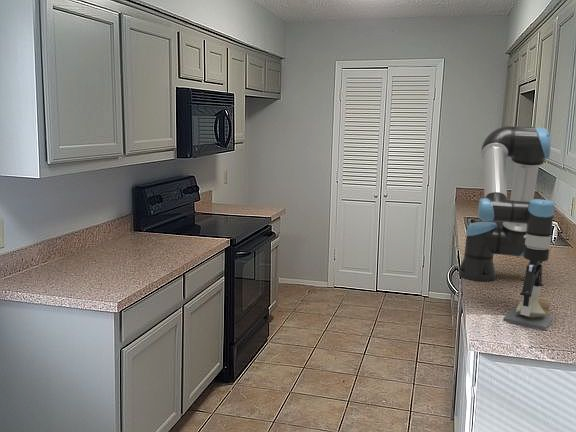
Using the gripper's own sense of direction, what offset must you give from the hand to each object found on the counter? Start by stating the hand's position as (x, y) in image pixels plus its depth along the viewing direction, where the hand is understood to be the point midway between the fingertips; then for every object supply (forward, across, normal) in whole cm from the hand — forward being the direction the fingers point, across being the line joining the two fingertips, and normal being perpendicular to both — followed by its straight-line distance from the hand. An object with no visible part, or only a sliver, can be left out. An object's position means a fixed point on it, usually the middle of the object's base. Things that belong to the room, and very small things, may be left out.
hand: (529, 309), depth 190 cm
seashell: (+3, 0, +1) cm, 3 cm away
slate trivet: (+4, 0, 0) cm, 4 cm away
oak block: (+4, -11, +2) cm, 12 cm away
